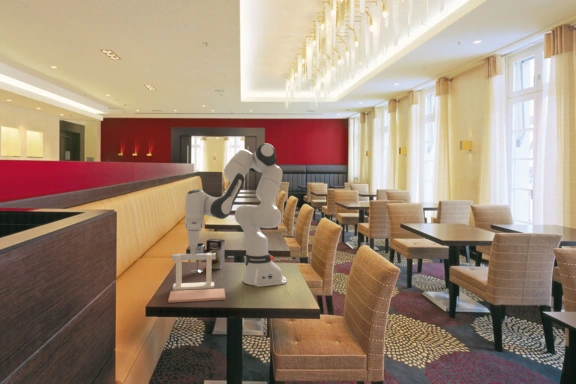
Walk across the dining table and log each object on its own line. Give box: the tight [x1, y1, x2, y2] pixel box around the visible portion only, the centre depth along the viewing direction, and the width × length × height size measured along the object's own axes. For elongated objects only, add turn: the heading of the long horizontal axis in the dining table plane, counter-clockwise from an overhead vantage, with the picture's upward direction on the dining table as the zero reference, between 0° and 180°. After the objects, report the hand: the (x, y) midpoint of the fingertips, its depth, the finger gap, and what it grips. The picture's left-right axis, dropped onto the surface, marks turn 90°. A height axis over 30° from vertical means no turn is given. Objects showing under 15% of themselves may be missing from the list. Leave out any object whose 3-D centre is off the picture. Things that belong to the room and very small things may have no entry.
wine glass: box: [189, 242, 206, 274], centre depth 201 cm, size 8×8×15 cm
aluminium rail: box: [171, 252, 216, 261], centre depth 174 cm, size 20×2×2 cm, turn 103°
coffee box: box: [205, 238, 226, 270], centre depth 210 cm, size 9×6×16 cm
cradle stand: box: [172, 253, 215, 291], centre depth 174 cm, size 19×6×16 cm, turn 103°
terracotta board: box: [167, 287, 227, 304], centre depth 163 cm, size 24×12×1 cm, turn 103°
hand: (193, 252), depth 173 cm, fingers open, 8 cm apart
